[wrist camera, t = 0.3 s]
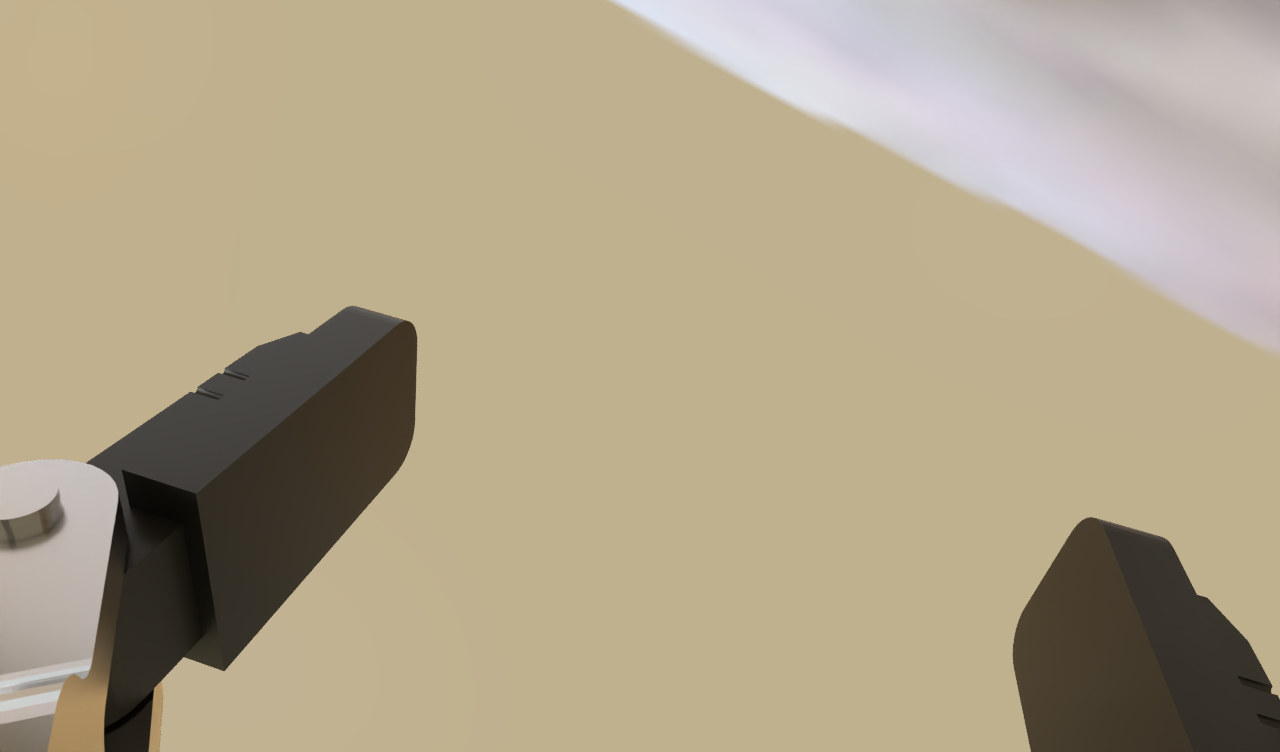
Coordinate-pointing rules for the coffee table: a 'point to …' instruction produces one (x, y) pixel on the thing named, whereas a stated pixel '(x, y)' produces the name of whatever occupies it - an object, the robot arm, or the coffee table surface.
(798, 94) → the coffee table surface
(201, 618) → the robot arm
